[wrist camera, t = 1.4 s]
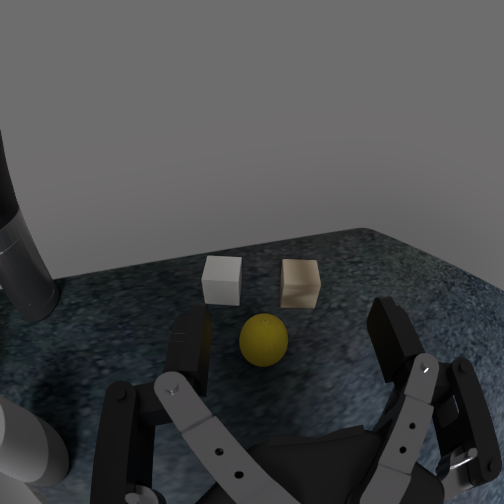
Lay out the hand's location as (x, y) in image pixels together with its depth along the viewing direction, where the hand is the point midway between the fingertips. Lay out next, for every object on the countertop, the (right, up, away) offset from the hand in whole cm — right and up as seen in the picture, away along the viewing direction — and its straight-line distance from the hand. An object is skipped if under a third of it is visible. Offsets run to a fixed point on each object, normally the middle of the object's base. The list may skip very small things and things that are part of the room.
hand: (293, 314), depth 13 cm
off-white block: (-6, -3, +29) cm, 30 cm away
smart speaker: (-27, -22, +6) cm, 35 cm away
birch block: (+5, -4, +29) cm, 29 cm away
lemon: (-1, -10, +20) cm, 23 cm away
